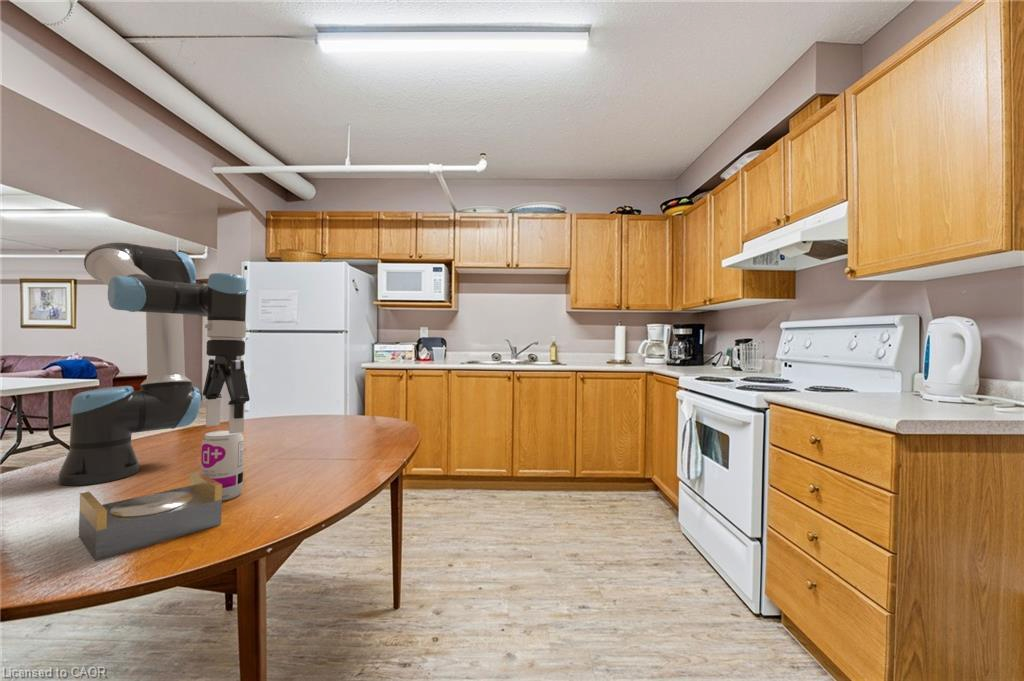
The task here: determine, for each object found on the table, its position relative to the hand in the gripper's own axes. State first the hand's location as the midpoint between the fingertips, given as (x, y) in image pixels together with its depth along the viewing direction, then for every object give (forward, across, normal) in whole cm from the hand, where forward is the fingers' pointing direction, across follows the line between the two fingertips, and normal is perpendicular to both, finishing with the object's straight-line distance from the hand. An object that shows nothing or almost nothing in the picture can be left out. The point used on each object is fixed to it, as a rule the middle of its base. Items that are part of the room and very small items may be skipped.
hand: (224, 429), depth 98 cm
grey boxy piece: (+16, +10, -15) cm, 24 cm away
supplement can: (+16, -1, 0) cm, 16 cm away
